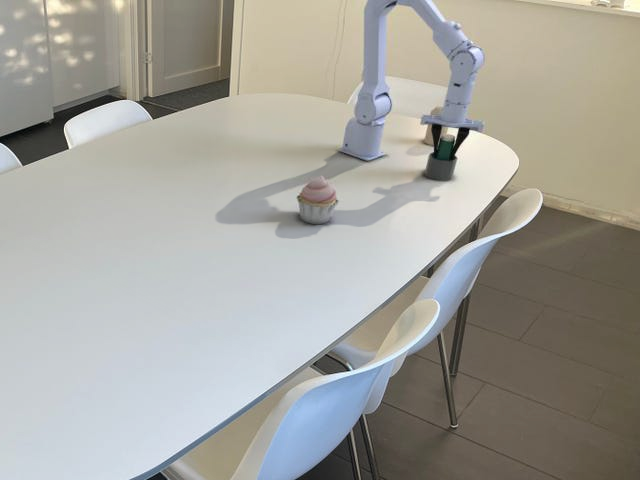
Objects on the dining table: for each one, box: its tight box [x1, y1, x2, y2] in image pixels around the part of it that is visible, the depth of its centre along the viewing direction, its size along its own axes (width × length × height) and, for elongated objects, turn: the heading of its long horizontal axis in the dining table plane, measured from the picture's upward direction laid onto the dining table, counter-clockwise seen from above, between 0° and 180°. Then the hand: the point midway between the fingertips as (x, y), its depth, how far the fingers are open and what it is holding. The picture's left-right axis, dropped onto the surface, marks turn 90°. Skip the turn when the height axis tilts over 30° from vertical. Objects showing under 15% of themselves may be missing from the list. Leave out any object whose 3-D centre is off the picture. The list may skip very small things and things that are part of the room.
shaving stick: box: [435, 133, 456, 161], centre depth 183 cm, size 4×4×8 cm
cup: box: [424, 151, 458, 181], centre depth 186 cm, size 7×7×5 cm
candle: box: [423, 106, 449, 146], centre depth 204 cm, size 6×6×10 cm
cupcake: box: [295, 175, 340, 225], centre depth 161 cm, size 9×9×10 cm
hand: (443, 156), depth 184 cm, fingers closed on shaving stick, 4 cm apart
